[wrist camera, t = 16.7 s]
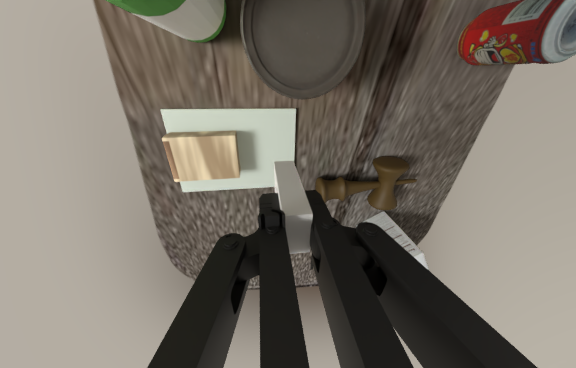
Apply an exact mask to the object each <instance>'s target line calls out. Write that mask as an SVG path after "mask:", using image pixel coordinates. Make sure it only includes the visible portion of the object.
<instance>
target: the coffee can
mask: <svg viewBox="0 0 576 368" xmlns="http://www.w3.org/2000/svg"><path fill="white" fill-rule="evenodd" d="M365 26H366V9H365V1H364V0H242V4H241V13H240V29H241V37H242V42H243V47H244V50H245V53H246V55H247V58H248V60H249V62H250V64H251V66H252V68H253V70H254V71H255V73H256V74H257V75H258V77H259V78H260V79H261V80H262V81H263V82H264V83H265V84H266V85H267V86H268V87H270V88H271V89H272V90H274V91H275V92H277V93H279V94H281V95H283V96H286V97H289V98H293V99H311V98H315V97H318V96H321V95H324V94H326V93H328V92H329V91H331V90H332V89H334V88H335V87H336V86H337V85H339V84H340V83H341V82H342V81H343V80H344V78H345V77H346V76H347V75H348V73H349V72H350V71H351V69H352V68H353V66H354V64H355V62H356V60H357V58H358V56H359V53H360V50H361V47H362V44H363V39H364V34H365Z"/></svg>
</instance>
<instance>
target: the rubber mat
mask: <svg viewBox="0 0 576 368" xmlns="http://www.w3.org/2000/svg"><path fill="white" fill-rule="evenodd" d="M160 110H161V114H162V117H163V121H164V125H165V128H166V132H167V134H168V133H169V132H200V131H233V130H236V133H237V142H238V151H239V159H240V168H241V172H240V178H230V179H214V180H197V181H181V182H180V184H181V187H182V191H183V192H193V191H210V190H227V189H245V188H262V187H275V178H274V162H275V161H294V152H295V123H296V108H235V109H160Z"/></svg>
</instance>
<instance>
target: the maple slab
mask: <svg viewBox="0 0 576 368" xmlns="http://www.w3.org/2000/svg"><path fill="white" fill-rule="evenodd" d="M162 140H163V144H164V147H165V151H166V154H167V157H168V161H169V164H170V167H171V171H172V174H173V178H174V181H175V182H181V181H197V180H214V179H230V178H240V172H241V168H240V159H239V151H238V142H237V133H236V130H233V131H200V132H169V133H168V134H167V135H165V136H164V137H162Z"/></svg>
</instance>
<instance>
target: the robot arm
mask: <svg viewBox="0 0 576 368" xmlns="http://www.w3.org/2000/svg"><path fill="white" fill-rule="evenodd" d="M274 178H275V193H269V194H262V196H261V197H260V198H259V204H260V213H259V216H258V223H259V228H258V230H257V231H256V232H255V233H253V234H251V235H249V236H246V237H243V236H241V235H240V234H236V233H231V234H227V235H224V236H223V237H221V238H220V239H219V240H218V241H217V243H216V245H215V246H214V248H213V250H212V252H211V254H210V255H209V257H208V259H207V261H206V263H205V264H204V266H203V268H202V270H201V272H200V273H199V275H198V277H197V279H196V281H195V283H194V285H193V286H192V288H191V290H190V292H189V293H188V295H187V297H186V299H185V301H184V302H183V304H182V306H181V308H180V310H179V312H178V313H177V315H176V317H175V319H174V321H173V322H172V324H171V326H170V328H169V330H168V331H167V333H166V335H165V337H164V339H163V340H162V342H161V344H160V346H159V348H158V349H157V351H156V353H155V355H154V357H153V359H152V360H151V362H150V364H149V366H148V368H223V367H224V364H225V360H226V357H227V353H228V350H229V347H230V344H231V340H232V337H233V333H234V330H235V327H236V323H237V320H238V317H239V313H240V311H241V307H242V304H243V300H244V297H245V294H246V291H247V287H248V284H249V281H250V279H251V278H253V277H255V276H258V275H260V368H309V363H308V357H307V351H306V345H305V340H304V334H303V328H302V322H301V316H300V311H299V305H298V299H297V293H296V287H295V281H294V275H293V269H292V264H291V258H290V254H293V253H304V252H310V247H311V250H312V257H311V269H313V267H314V271H315V274H316V278H317V282H318V285H319V289H320V293H321V296H322V300H323V304H324V308H325V311H326V315H327V318H328V322H329V326H330V329H331V333H332V337H333V341H334V344H335V348H336V352H337V356H338V359H339V363H340V367H341V368H413V365H412V364H411V362H410V360H409V358H408V356H407V354H406V352H405V350H404V348H403V346H402V344H401V342H400V340H399V338H398V336H397V334H396V332H395V330H396V331H397V333H398V334H399V335H400V337H401V338H402V339H403V341H404V342H405V343H406V345H407V346H408V348H409V349H410V350H411V352H412V353H413V354H414V356H415V357H416V358H417V360H418V361H419V362H420V364H421V365H422V366H423V368H537V367H536V366H535V365H534V364H533V363H532V362H530V361H529V360H528V359H527V358H526V357H525V356H524V355H523V354H521V353H520V352H519V351H518V350H517V349H516V348H515V347H514V346H513V345H511V344H510V343H509V342H508V341H507V340H506V339H505V338H503V337H502V336H501V335H500V334H499V333H498V332H497V331H496V330H495V329H494V328H492V327H491V326H490V325H489V324H488V323H487V322H486V321H485V320H483V319H482V318H481V317H480V316H479V315H478V314H477V313H476V312H475V311H473V310H472V309H471V308H470V307H469V306H468V305H466V303H464V302H463V301H462V300H461V299H460V298H459V297H458V296H457V295H456V294H454V293H453V292H452V291H451V290H450V289H449V288H448V287H447V286H445V285H444V284H443V283H442V282H441V281H440V280H439V279H438V278H437V277H435V276H434V275H433V274H432V273H431V272H430V271H429V270H428V269H426V268H425V267H424V266H423V265H422V264H421V263H420V262H419V261H418V260H416V259H415V258H414V257H413V256H412V255H411V254H410V253H409V252H407V251H406V250H405V249H404V248H403V247H402V246H401V245H400V244H399V243H397V242H396V241H395V240H394V239H393V238H392V237H391V236H390V235H388V234H387V233H386V232H385V231H384V230H383V229H382V228H381V227H379V226H378V225H376V224H374V223H370V222H361V223H359V224H358V225H357V227H356V228H351V227H345V226H342V225H340V223H339V222H338V221H337V220H336V219H334V218H332V217H331V215H330V212H329V210H328V208H327V206H326V204H325V202H324V200H323V198H322V196H321V194H320V193H319V192H317V191H316V190H309V191H304V188H303V186H302V183H301V180H300V177H299V175H298V172H297V169H296V167H295V164H294V161H275V162H274ZM393 327H394V328H393ZM394 329H395V330H394Z"/></svg>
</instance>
